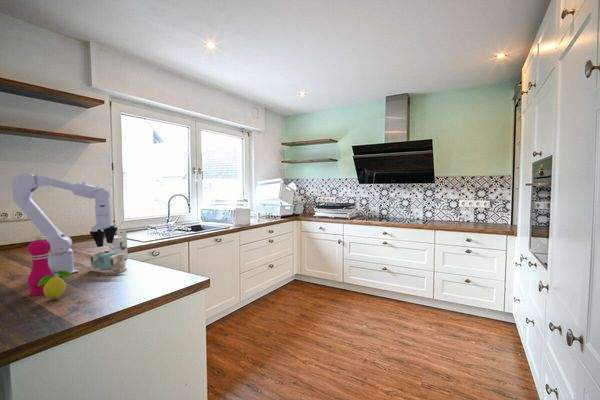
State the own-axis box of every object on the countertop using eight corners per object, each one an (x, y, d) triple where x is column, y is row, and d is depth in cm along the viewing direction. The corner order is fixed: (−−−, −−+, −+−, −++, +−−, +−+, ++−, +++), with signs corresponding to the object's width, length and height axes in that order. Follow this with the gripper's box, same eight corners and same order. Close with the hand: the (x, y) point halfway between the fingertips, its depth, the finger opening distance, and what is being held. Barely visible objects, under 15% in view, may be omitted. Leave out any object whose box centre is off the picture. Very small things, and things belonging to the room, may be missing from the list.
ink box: (108, 259, 144) (106, 230, 143) (118, 257, 148) (117, 229, 148) (118, 261, 140) (116, 231, 139) (128, 259, 144) (127, 230, 143)
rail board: (113, 274, 119) (112, 256, 119) (90, 270, 125) (89, 254, 125) (126, 270, 125) (125, 253, 124) (104, 266, 131) (103, 250, 130)
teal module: (104, 269, 121) (103, 255, 121) (98, 268, 123) (97, 255, 123) (116, 266, 126) (115, 252, 126) (110, 265, 128) (109, 252, 127)
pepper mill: (53, 286, 105) (49, 233, 104) (58, 291, 101) (54, 235, 99) (26, 292, 100) (22, 236, 98) (30, 297, 95) (25, 238, 94)
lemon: (73, 295, 97) (71, 266, 96) (59, 302, 91) (57, 271, 90) (53, 295, 96) (51, 266, 96) (37, 302, 91) (35, 272, 90)
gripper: (102, 216, 122) (104, 248, 122) (121, 213, 136) (122, 241, 137) (85, 217, 121) (87, 248, 122) (105, 213, 135) (107, 241, 136)
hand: (105, 244), depth 129 cm, fingers open, 7 cm apart
